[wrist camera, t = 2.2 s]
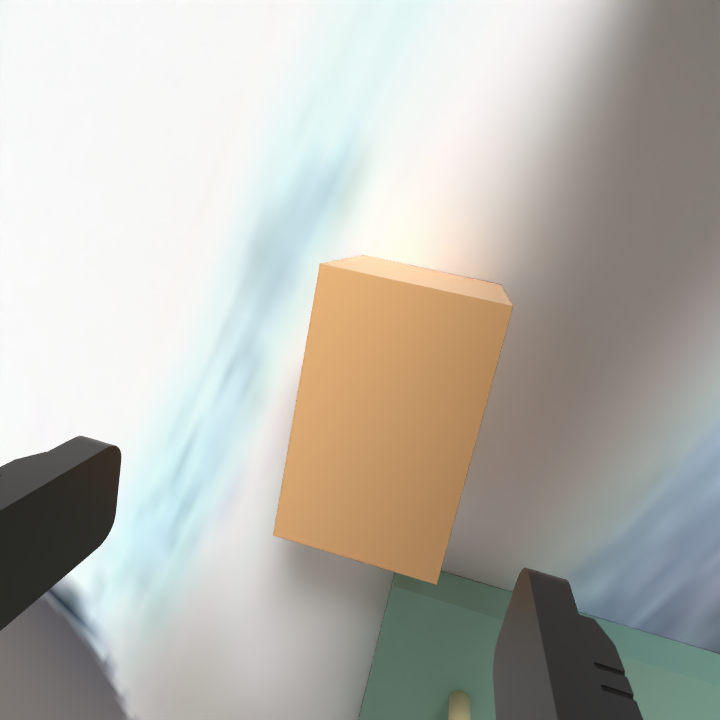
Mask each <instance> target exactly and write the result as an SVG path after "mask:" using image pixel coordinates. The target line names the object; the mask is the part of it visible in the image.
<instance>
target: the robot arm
mask: <svg viewBox="0 0 720 720" xmlns="http://www.w3.org/2000/svg"><path fill="white" fill-rule="evenodd" d="M120 466H121V452H120V449H119V448H118V447H117V446H114V445H111V444H108V443H104V442H101V441H98V440H94V439H91V438H87V437H84V436H78V437H75V438H73V439H71V440H69V441H67V442H66V443H64V444H62V445H60V446H58V447H56V448H54V449H52V450H50V451H48V452H44V453H40V454H36V455H32V456H28V457H24V458H20V459H16V460H14V461H12V462H10V463H7V464H5V465H3V466H1V467H0V631H1V630H2V629H3V628H4V627H6V626H7V625H8V624H9V623H10V622H11V621H13V620H14V619H15V618H16V617H17V616H18V615H20V614H21V613H22V612H23V611H24V610H25V609H26V608H28V607H29V606H30V605H31V604H33V603H34V602H35V601H36V600H37V599H38V598H40V597H41V596H42V595H43V594H44V593H45V592H47V591H48V590H49V589H50V588H51V587H53V586H54V585H55V584H56V583H57V582H58V581H60V580H61V579H62V578H63V577H64V576H65V575H67V574H68V573H69V572H70V571H71V570H72V569H74V568H75V567H76V566H77V565H78V564H80V563H81V562H82V561H83V560H84V559H85V558H87V557H88V556H89V555H90V554H91V553H92V552H94V551H95V550H96V549H97V548H98V547H99V546H100V545H101V544H102V543H103V542H104V540H105V539H106V538H107V536H108V534H109V532H110V530H111V528H112V526H113V523H114V519H115V514H116V505H117V495H118V486H119V476H120ZM493 685H494V699H495V713H496V720H643V718H642V715H641V712H640V710H639V707H638V704H637V702H636V701H635V700H634V699H633V697H634V694H633V691H632V688H631V686H630V683H629V680H628V678H627V677H625V670H624V667H623V664H622V662H621V659H620V657H619V654H618V651H617V649H616V646H615V644H614V643H613V642H612V640H611V639H610V638H609V637H608V635H607V634H606V633H605V632H604V630H603V629H602V628H601V627H600V625H599V624H598V623H597V622H596V620H595V619H593V618H590V617H586V616H583V615H580V614H579V613H578V610H577V607H576V604H575V601H574V597H573V594H572V591H571V588H570V585H569V582H568V581H567V580H565V579H562V578H558V577H555V576H551V575H548V574H545V573H541V572H538V571H535V570H531V569H528V568H524V569H523V570H522V571H521V572H520V574H519V577H518V579H517V582H516V585H515V588H514V591H513V594H512V597H511V600H510V603H509V606H508V609H507V612H506V615H505V618H504V621H503V624H502V627H501V630H500V633H499V636H498V639H497V643H496V648H495V653H494V661H493Z"/></svg>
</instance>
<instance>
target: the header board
mask: <svg viewBox="0 0 720 720" xmlns="http://www.w3.org/2000/svg"><path fill="white" fill-rule="evenodd" d="M512 594H513V592H509V591H506V590H503V589H499V588H496V587H493V586H489V585H486V584H483V583H479V582H476V581H472V580H469V579H466V578H462V577H459V576H456V575H452V574H449V573H446V572H442V571H440V574H439V578H438V582H437V585H436V584H433V583H429V582H426V581H423V580H419V579H416V578H413V577H410V576H406V575H403V574H400V573H396V572H395V574H394V578H393V582H392V586H391V590H390V594H389V598H388V602H387V606H386V610H385V614H384V619H383V623H382V627H381V631H380V635H379V639H378V643H377V647H376V651H375V655H374V659H373V663H372V667H371V671H370V675H369V679H368V683H367V687H366V691H365V695H364V699H363V703H362V707H361V711H360V715H359V719H358V720H496V713H495V699H494V685H493V661H494V653H495V648H496V643H497V639H498V636H499V633H500V630H501V627H502V624H503V621H504V618H505V615H506V612H507V609H508V606H509V603H510V600H511V597H512ZM578 613H579V614H580V615H583V616H586V617H590V618H593V619H595V620H596V622H597V623H598V624H599V625H600V627H601V628H602V629H603V630H604V632H605V633H606V634H607V635H608V637H609V638H610V639H611V640H612V642H613V643H614V644H615V646H616V649H617V651H618V654H619V657H620V659H621V662H622V664H623V667H624V670H625V677H627V678H628V680H629V683H630V686H631V688H632V691H633V694H634V697H633V699H634V700H635V701H636V702H637V704H638V707H639V710H640V712H641V715H642V718H643V720H720V654H717V653H714V652H711V651H707V650H704V649H701V648H697V647H694V646H691V645H687V644H684V643H680V642H677V641H674V640H670V639H667V638H664V637H660V636H657V635H654V634H650V633H647V632H644V631H640V630H637V629H634V628H630V627H627V626H623V625H620V624H617V623H613V622H610V621H607V620H603V619H600V618H597V617H593V616H590V615H587V614H583V613H580V612H578Z"/></svg>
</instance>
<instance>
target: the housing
mask: <svg viewBox="0 0 720 720" xmlns="http://www.w3.org/2000/svg"><path fill="white" fill-rule="evenodd" d="M512 308H513V305H512V303H511V301H510V300H509V298H508V296H507V294H506V293H505V291H504V289H503V288H502V286H501V285H500V284H495V283H491V282H486V281H481V280H477V279H472V278H467V277H463V276H458V275H453V274H449V273H444V272H439V271H435V270H430V269H425V268H421V267H416V266H411V265H407V264H402V263H397V262H393V261H388V260H383V259H379V258H374V257H369V256H365V255H362V256H357V257H352V258H346V259H341V260H336V261H331V262H326V263H320V266H319V272H318V278H317V284H316V290H315V295H314V301H313V307H312V313H311V319H310V324H309V330H308V336H307V342H306V348H305V353H304V359H303V365H302V371H301V377H300V382H299V388H298V394H297V400H296V406H295V411H294V417H293V423H292V429H291V435H290V440H289V446H288V452H287V458H286V464H285V469H284V475H283V481H282V487H281V493H280V498H279V504H278V510H277V516H276V522H275V527H274V533H273V535H274V536H277V537H281V538H284V539H287V540H290V541H294V542H297V543H300V544H304V545H307V546H310V547H314V548H317V549H320V550H324V551H327V552H330V553H333V554H337V555H340V556H343V557H347V558H350V559H353V560H357V561H360V562H363V563H367V564H370V565H373V566H376V567H380V568H383V569H386V570H390V571H393V572H396V573H400V574H403V575H406V576H410V577H413V578H416V579H419V580H423V581H426V582H429V583H433V584H436V585H437V582H438V578H439V574H440V571H441V567H442V563H443V560H444V556H445V552H446V549H447V545H448V542H449V538H450V534H451V531H452V527H453V523H454V520H455V516H456V512H457V509H458V505H459V501H460V498H461V494H462V490H463V487H464V483H465V480H466V476H467V472H468V469H469V465H470V461H471V458H472V454H473V450H474V447H475V443H476V439H477V436H478V432H479V429H480V425H481V421H482V418H483V414H484V410H485V407H486V403H487V399H488V396H489V392H490V388H491V385H492V381H493V378H494V374H495V370H496V367H497V363H498V359H499V356H500V352H501V348H502V345H503V341H504V337H505V334H506V330H507V327H508V323H509V319H510V316H511V312H512Z"/></svg>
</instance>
